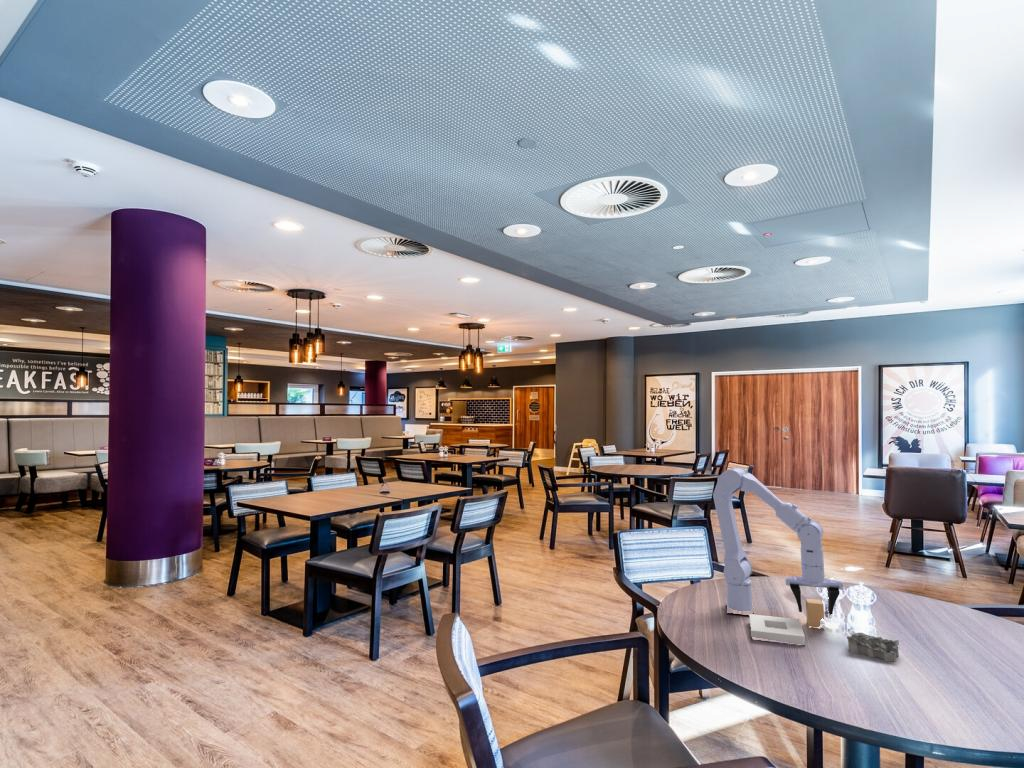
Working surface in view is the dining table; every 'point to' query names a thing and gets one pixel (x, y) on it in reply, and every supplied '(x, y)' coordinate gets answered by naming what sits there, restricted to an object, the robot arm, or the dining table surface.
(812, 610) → the peg
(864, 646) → the egg carton
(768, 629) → the socket plate
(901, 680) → the dining table surface
